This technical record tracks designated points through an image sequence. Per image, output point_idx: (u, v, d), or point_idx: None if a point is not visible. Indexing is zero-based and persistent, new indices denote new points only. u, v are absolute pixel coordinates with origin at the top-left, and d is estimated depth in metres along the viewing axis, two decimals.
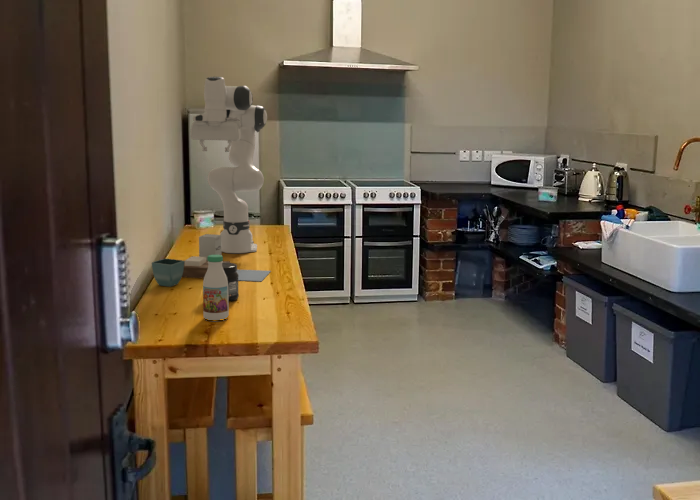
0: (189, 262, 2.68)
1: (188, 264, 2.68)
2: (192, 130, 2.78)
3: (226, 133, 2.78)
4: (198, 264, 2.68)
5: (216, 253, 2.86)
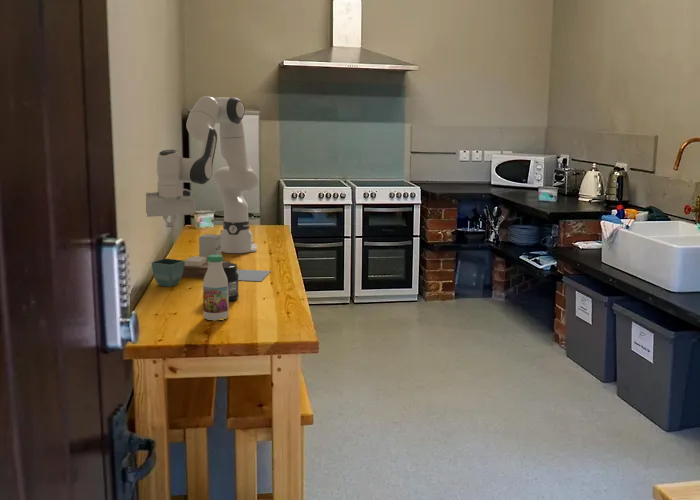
0: (189, 262, 2.68)
1: (188, 264, 2.68)
2: None
3: None
4: (198, 264, 2.68)
5: (216, 253, 2.86)
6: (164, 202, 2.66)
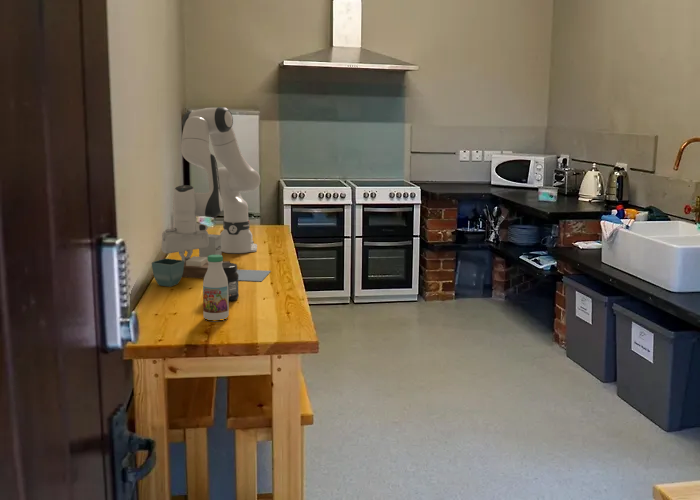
0: (190, 262, 2.68)
1: (189, 264, 2.68)
2: None
3: None
4: (199, 264, 2.67)
5: (216, 253, 2.86)
6: (182, 237, 2.68)
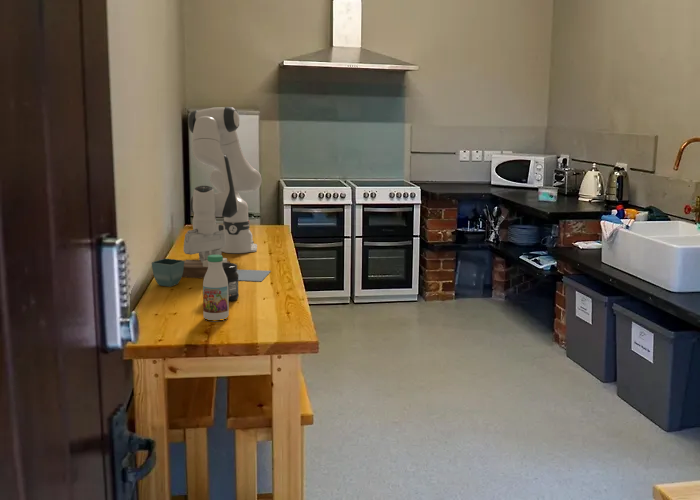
0: (207, 263, 2.67)
1: (206, 265, 2.67)
2: None
3: None
4: None
5: (216, 253, 2.86)
6: (203, 238, 2.67)
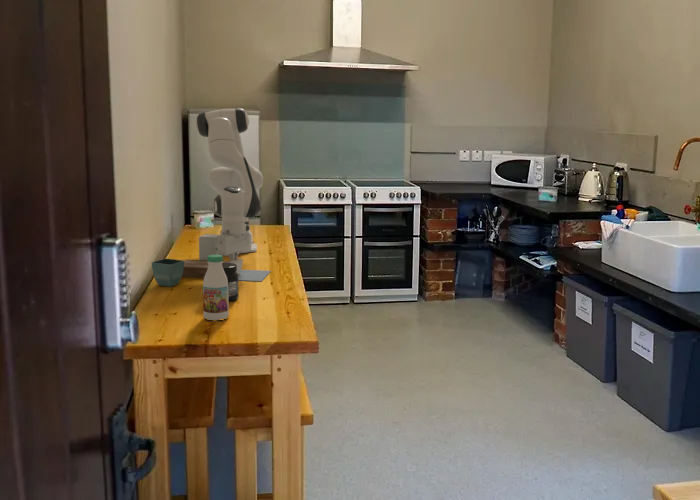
0: None
1: None
2: None
3: None
4: None
5: (216, 253, 2.86)
6: (234, 239, 2.66)
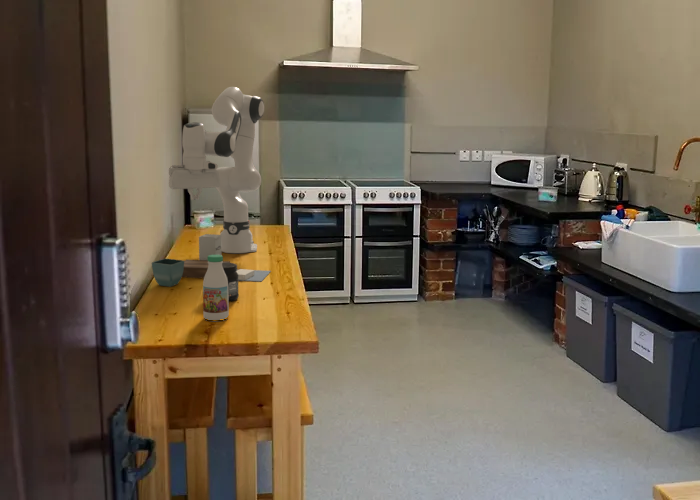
0: (240, 278, 2.63)
1: (241, 276, 2.63)
2: None
3: None
4: None
5: (216, 253, 2.86)
6: (190, 174, 2.67)
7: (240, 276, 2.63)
